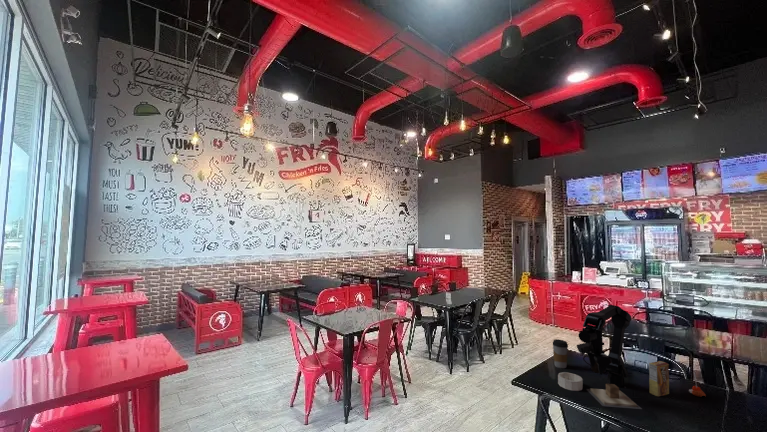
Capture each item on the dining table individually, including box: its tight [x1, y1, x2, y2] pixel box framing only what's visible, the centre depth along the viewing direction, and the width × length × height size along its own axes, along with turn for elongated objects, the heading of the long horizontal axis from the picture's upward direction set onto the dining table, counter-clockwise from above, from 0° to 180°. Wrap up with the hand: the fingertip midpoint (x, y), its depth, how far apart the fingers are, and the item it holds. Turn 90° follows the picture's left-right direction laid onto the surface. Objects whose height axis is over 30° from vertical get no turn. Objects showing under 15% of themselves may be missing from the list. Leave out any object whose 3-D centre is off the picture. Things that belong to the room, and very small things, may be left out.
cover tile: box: [589, 383, 638, 407], centre depth 162 cm, size 14×14×6 cm
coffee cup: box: [552, 339, 569, 369], centre depth 202 cm, size 8×8×15 cm
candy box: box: [648, 360, 670, 397], centre depth 169 cm, size 9×4×15 cm, turn 110°
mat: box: [585, 388, 643, 410], centre depth 162 cm, size 17×17×1 cm
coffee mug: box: [582, 352, 607, 374], centre depth 196 cm, size 12×9×10 cm
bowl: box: [557, 371, 584, 392], centre depth 175 cm, size 11×11×5 cm
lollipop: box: [688, 371, 707, 397], centre depth 167 cm, size 6×10×12 cm, turn 146°
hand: (596, 370), depth 168 cm, fingers open, 9 cm apart
